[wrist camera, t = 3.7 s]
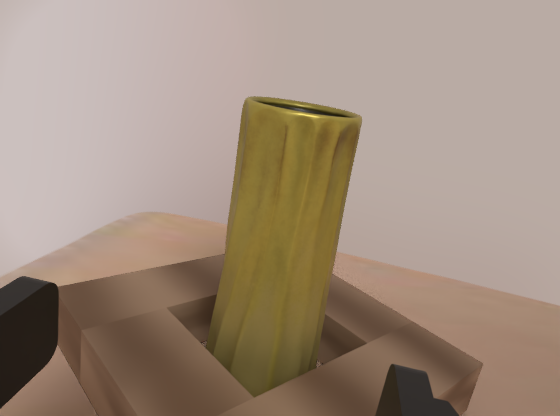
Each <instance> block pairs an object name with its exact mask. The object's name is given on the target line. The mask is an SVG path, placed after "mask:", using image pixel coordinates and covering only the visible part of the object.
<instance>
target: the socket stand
mask: <svg viewBox="0 0 560 416" xmlns="http://www.w3.org/2000/svg"><path fill="white" fill-rule="evenodd" d="M224 258H225V254H222V255H217V256H212V257H207V258H202V259H197V260H192V261H187V262H182V263H177V264H172V265H166V266H161V267H156V268H151V269H146V270H141V271H136V272H131V273H126V274H121V275H116V276H111V277H106V278H100V279H95V280H90V281H85V282H80V283H75V284H70V285H65V286H60V287H58V290H59V317H58V343H57V344H58V345H59V347H60V349H61V351H62V352H63V354H64V356H65V358H66V359H67V361H68V363H69V365H70V367H71V368H72V370H73V372H74V374H75V375H76V377H77V379H78V381H79V382H80V384H81V386H82V388H83V390H84V391H85V393H86V395H87V397H88V398H89V400H90V402H91V404H92V405H93V407H94V409H95V411H96V413H97V414H98V416H375V414H376V411H377V408H378V404H379V401H380V397H381V394H382V390H383V387H384V383H385V380H386V376H387V373H388V370H389V367H390V365H391V364H396V365H400V366H405V367H409V368H413V369H417V370H422V371H425V372H427V374H428V378H429V382H430V386H431V389H432V393H433V397H434V398H437V399H441V400H445V401H448V402H449V403H450V404H451V405H452V407H453V408H454V409H455V411H456V412H457V413H458V414H459V416H460V415H461V414H462V413H464V412H465V411H466V410H467V407H468V404H469V402H470V399H471V396H472V393H473V390H474V388H475V385H476V382H477V379H478V376H479V374H480V371H481V368H482V365H483V363H481V362H480V361H478V360H476V359H475V358H473V357H471V356H470V355H468V354H466V353H464V352H463V351H461V350H459V349H458V348H456V347H454V346H453V345H451V344H449V343H448V342H446V341H444V340H443V339H441V338H439V337H438V336H436V335H434V334H433V333H431V332H429V331H428V330H426V329H424V328H423V327H421V326H419V325H418V324H416V323H414V322H413V321H411V320H409V319H408V318H406V317H404V316H402V315H401V314H399V313H397V312H396V311H394V310H392V309H391V308H389V307H387V306H386V305H384V304H382V303H381V302H379V301H377V300H376V299H374V298H372V297H371V296H369V295H367V294H366V293H364V292H362V291H361V290H359V289H357V288H356V287H354V286H352V285H351V284H349V283H347V282H345V281H344V280H342V279H340V278H339V277H337V276H335V275H334V274H332V276H331V281H330V286H329V292H328V298H327V304H326V309H325V316H324V322H323V328H322V333H321V338H320V344H319V350H318V356H317V360H318V361H320V362H321V363H322V364H323V365H321V366H319V367H317V368H315V369H313V370H311V371H309V372H307V373H305V374H303V375H301V376H299V377H296V378H294V379H292V380H290V381H288V382H286V383H284V384H282V385H280V386H278V387H276V388H274V389H271V390H269V391H267V392H265V393H263V394H261V395H259V396H257V397H255V398H254V397H253V396H252V395H251V394H250V393H249V392H248V391H247V390H246V389H245V388H244V387H243V386H242V385H241V384H240V383H239V382H238V381H237V380H236V379H235V378H234V377H233V376H232V375H231V374H230V373H229V372H228V371H227V370H226V369H225V368H224V367H223V366H222V365H221V364H220V362H219V361H218V360H217V359H216V358H215V357H214V356H213V355H212V354H211V353H210V352H209V351H208V350H207V349H206V348H205V347H204V346H203V345H202V344H201V342H204V341H207V339H208V335H209V330H210V325H211V320H212V315H213V311H214V306H215V302H216V297H217V292H218V288H219V283H220V279H221V274H222V270H223V265H224Z"/></svg>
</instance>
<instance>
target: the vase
mask: <svg viewBox="0 0 560 416" xmlns="http://www.w3.org/2000/svg"><path fill="white" fill-rule="evenodd" d="M361 124H362V117H361V116H360V115H357V114H355V113H352V112H348V111H345V110H341V109H336V108H331V107H327V106H321V105H317V104H311V103H306V102H299V101H293V100H285V99H279V98H270V97H255V96H254V97H248V98H246V100H245V102H244V105H243V109H242V115H241V124H240V133H239V141H238V149H237V157H236V166H235V174H234V181H233V189H232V196H231V204H230V212H229V218H228V226H227V236H226V249H225V258H224V265H223V270H222V274H221V279H220V283H219V288H218V292H217V297H216V302H215V306H214V311H213V315H212V320H211V325H210V330H209V335H208V339H207V344H206V349H207V350H208V351H209V352H210V353H211V354H212V355H213V356H214V357H215V358H216V359H217V360H218V361H219V362H220V364H221V365H222V366H223V367H224V368H225V369H226V370H227V371H228V372H229V373H230V374H231V375H232V376H233V377H234V378H235V379H236V380H237V381H238V382H239V383H240V384H241V385H242V386H243V387H244V388H245V389H246V390H247V391H248V392H249V393H250V394H251V395H252V396H253V397H254V398H255V397H257V396H259V395H261V394H263V393H265V392H267V391H269V390H271V389H274V388H276V387H278V386H280V385H282V384H284V383H286V382H288V381H290V380H292V379H294V378H296V377H299V376H301V375H303V374H305V373H307V372H309V371H311V370H313V369H315V368H316V363H317V356H318V350H319V344H320V338H321V333H322V328H323V322H324V316H325V309H326V304H327V298H328V292H329V286H330V281H331V276H332V271H333V266H334V261H335V256H336V251H337V245H338V239H339V233H340V228H341V222H342V217H343V212H344V206H345V200H346V196H347V191H348V186H349V181H350V176H351V171H352V166H353V162H354V157H355V153H356V148H357V143H358V139H359V134H360V128H361Z"/></svg>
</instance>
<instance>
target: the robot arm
mask: <svg viewBox="0 0 560 416" xmlns="http://www.w3.org/2000/svg"><path fill="white" fill-rule="evenodd" d="M58 317H59V290H58V287H57V285H56V284H55V283H51V282H47V281H43V280H39V279H34V278H30V277H26V276H22V277H19V278H17V279H16V280H14V281H12V282H11V283H9V284H7V285H6V286H4V287H2V288H1V289H0V408H2V407H3V406H4V405H5V404H6V403H7V402H8V401H9V400H10V399H11V398H12V397H13V396H14V395H15V394H16V393H17V392H18V391H19V390H21V389H22V388H23V387H24V386H25V385H26V384H27V383H28V382H29V381H30V380H31V379H32V378H33V377H34V376H35V375H36V374H37V373H38V372H40V371H41V370H42V369H43V368H44V367H45V366H46V365H47V364H48V362H49V361H50V359H51V358H52V356H53V354H54V352H55V350H56V347H57V343H58ZM375 416H459V414H458V413H457V412H456V411H455V409H454V408H453V407H452V405H451V404H450V403H449V402H448V401H445V400H441V399H437V398H434V397H433V393H432V389H431V386H430V382H429V378H428V374H427V372H425V371H422V370H417V369H413V368H409V367H405V366H400V365H396V364H391V365H390V367H389V370H388V373H387V376H386V380H385V383H384V387H383V390H382V394H381V397H380V401H379V404H378V408H377V411H376V414H375Z"/></svg>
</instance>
